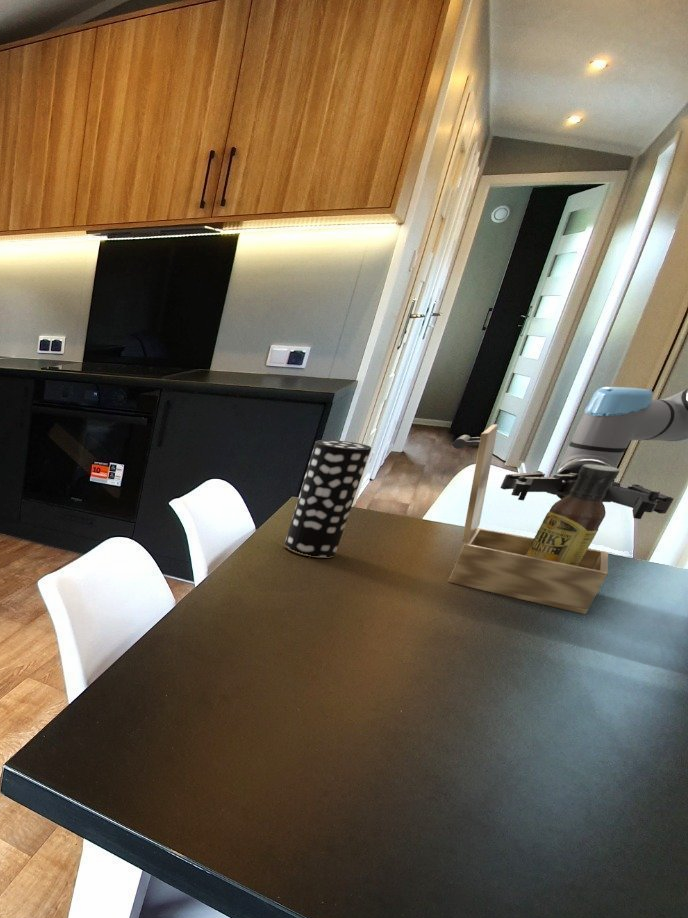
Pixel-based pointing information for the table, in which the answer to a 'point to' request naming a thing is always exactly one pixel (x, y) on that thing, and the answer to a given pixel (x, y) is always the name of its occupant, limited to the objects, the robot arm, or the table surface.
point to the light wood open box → (528, 572)
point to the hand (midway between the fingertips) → (580, 501)
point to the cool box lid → (478, 476)
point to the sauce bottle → (574, 518)
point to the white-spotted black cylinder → (326, 497)
